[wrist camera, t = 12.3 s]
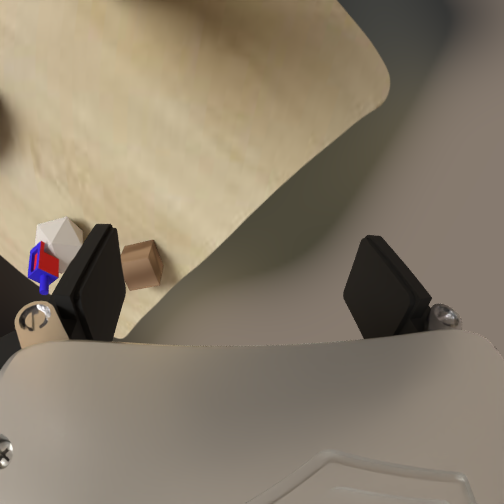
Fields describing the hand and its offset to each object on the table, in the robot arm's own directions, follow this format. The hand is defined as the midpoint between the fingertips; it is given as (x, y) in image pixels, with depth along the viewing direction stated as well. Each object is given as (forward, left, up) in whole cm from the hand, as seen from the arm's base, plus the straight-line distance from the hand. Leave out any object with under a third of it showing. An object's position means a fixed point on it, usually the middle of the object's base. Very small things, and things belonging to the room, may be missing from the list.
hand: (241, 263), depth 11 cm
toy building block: (+16, -24, -23) cm, 37 cm away
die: (+16, -24, -31) cm, 42 cm away
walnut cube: (+20, -11, -30) cm, 38 cm away
